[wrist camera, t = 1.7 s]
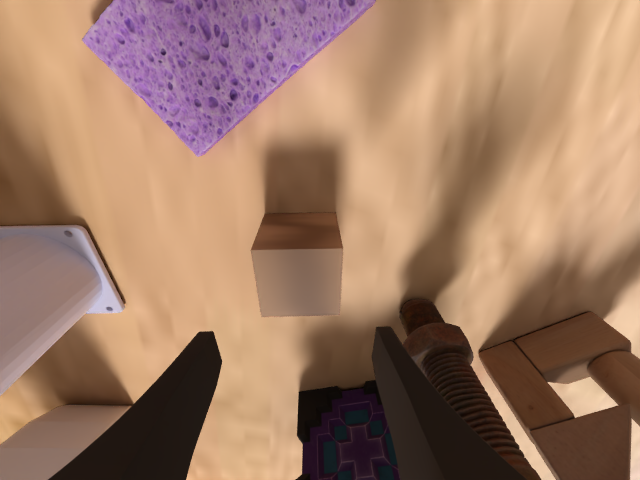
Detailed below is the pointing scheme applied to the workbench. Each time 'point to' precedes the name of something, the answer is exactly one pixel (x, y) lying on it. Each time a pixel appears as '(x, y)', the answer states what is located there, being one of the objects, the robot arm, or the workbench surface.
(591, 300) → the workbench surface
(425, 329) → the bolt
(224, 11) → the sponges
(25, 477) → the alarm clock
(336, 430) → the energy cube
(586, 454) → the wooden block
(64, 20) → the workbench surface
